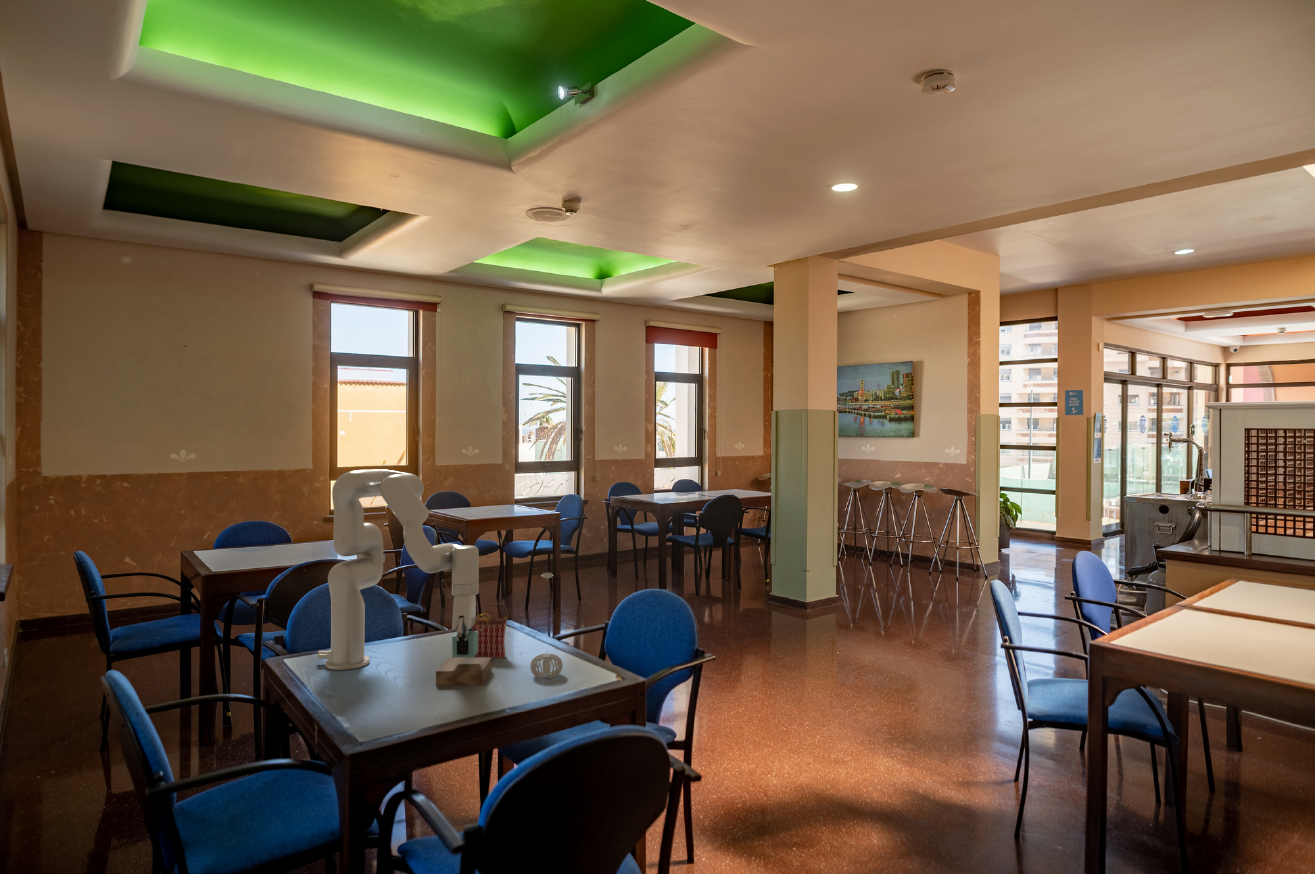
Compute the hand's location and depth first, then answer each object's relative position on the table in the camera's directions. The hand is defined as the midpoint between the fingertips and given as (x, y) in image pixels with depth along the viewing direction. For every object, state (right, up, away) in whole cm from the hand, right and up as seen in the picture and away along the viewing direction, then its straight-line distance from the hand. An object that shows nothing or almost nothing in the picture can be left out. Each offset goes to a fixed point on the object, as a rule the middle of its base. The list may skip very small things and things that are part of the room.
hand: (465, 650), depth 212 cm
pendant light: (+23, -8, +2) cm, 25 cm away
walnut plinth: (0, -8, 0) cm, 8 cm away
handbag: (-3, -8, +20) cm, 22 cm away
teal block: (0, -1, 0) cm, 1 cm away
